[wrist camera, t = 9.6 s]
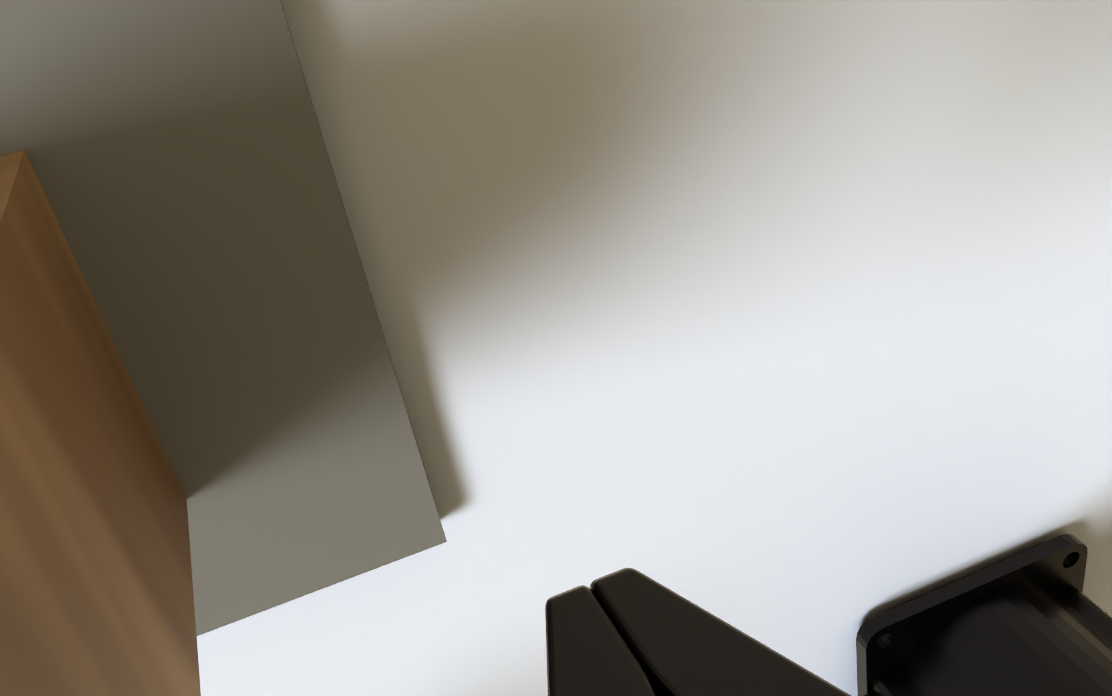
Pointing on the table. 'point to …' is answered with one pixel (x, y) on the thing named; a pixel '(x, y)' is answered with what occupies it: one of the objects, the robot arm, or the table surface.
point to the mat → (223, 283)
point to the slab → (80, 486)
